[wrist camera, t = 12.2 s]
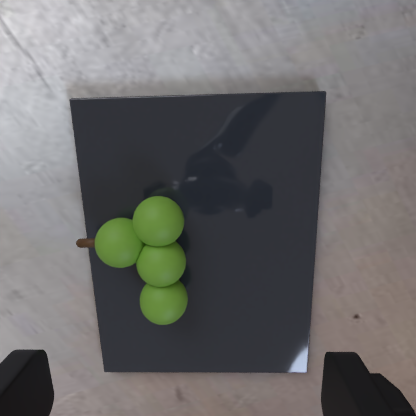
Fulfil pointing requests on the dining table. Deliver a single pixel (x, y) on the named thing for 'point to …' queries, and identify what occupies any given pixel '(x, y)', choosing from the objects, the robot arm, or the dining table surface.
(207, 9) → the dining table surface
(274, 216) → the slate board
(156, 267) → the grapes
